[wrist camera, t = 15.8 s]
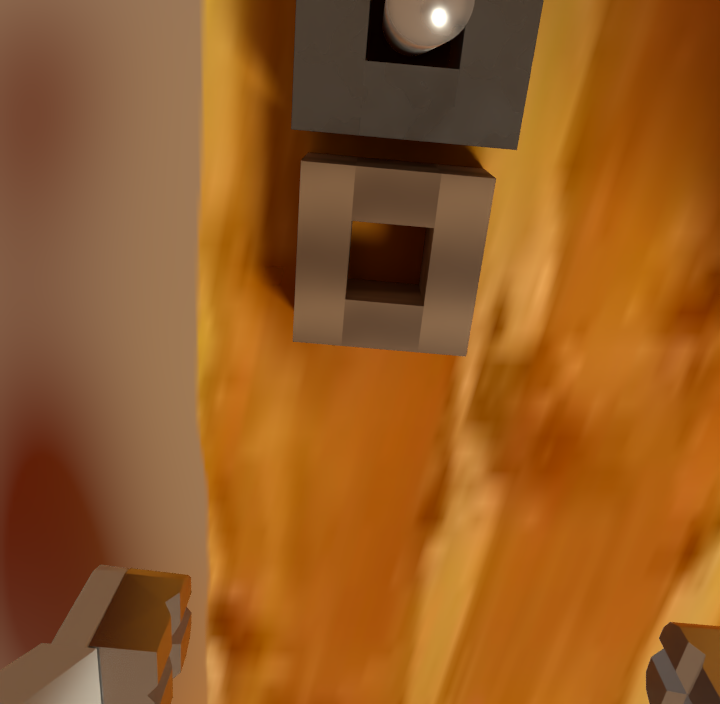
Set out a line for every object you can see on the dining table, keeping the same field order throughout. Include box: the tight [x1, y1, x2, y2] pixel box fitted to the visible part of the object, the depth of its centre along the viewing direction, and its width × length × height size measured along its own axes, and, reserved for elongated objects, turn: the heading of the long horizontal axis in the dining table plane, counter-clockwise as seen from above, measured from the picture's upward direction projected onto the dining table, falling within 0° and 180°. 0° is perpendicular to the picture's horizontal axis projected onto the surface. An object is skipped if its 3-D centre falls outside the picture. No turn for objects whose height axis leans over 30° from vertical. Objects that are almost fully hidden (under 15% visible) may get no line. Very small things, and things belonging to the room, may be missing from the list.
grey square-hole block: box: [291, 0, 543, 150], centre depth 30 cm, size 11×11×5 cm
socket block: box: [293, 152, 496, 356], centre depth 36 cm, size 10×10×4 cm
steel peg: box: [382, 0, 475, 56], centre depth 28 cm, size 3×3×11 cm
